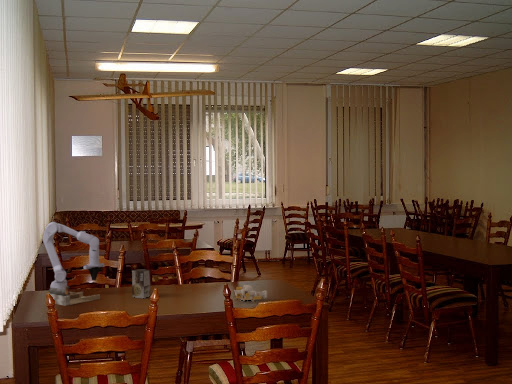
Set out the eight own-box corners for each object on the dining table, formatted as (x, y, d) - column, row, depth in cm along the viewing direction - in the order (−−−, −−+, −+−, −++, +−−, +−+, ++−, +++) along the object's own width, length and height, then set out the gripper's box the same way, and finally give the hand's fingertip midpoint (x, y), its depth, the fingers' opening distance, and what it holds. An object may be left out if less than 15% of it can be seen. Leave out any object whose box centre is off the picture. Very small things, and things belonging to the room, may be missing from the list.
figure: (271, 300, 399) (272, 284, 399) (253, 305, 384) (253, 288, 384) (248, 297, 409) (248, 281, 409) (229, 301, 395) (229, 285, 394)
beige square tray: (57, 301, 384) (57, 293, 384) (69, 299, 391) (69, 291, 391) (68, 303, 379) (68, 295, 379) (80, 301, 386) (80, 293, 386)
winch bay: (46, 303, 382) (46, 283, 382) (81, 296, 403) (81, 278, 402) (66, 306, 373) (66, 286, 373) (100, 299, 394) (100, 281, 393)
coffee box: (150, 297, 404) (151, 270, 404) (143, 298, 399) (143, 271, 398) (138, 295, 409) (139, 268, 408) (131, 297, 403) (131, 270, 403)
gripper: (89, 258, 397) (89, 282, 398) (107, 256, 409) (107, 279, 410) (81, 257, 401) (81, 281, 402) (99, 255, 413) (99, 278, 414)
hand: (94, 280), depth 406 cm, fingers closed
